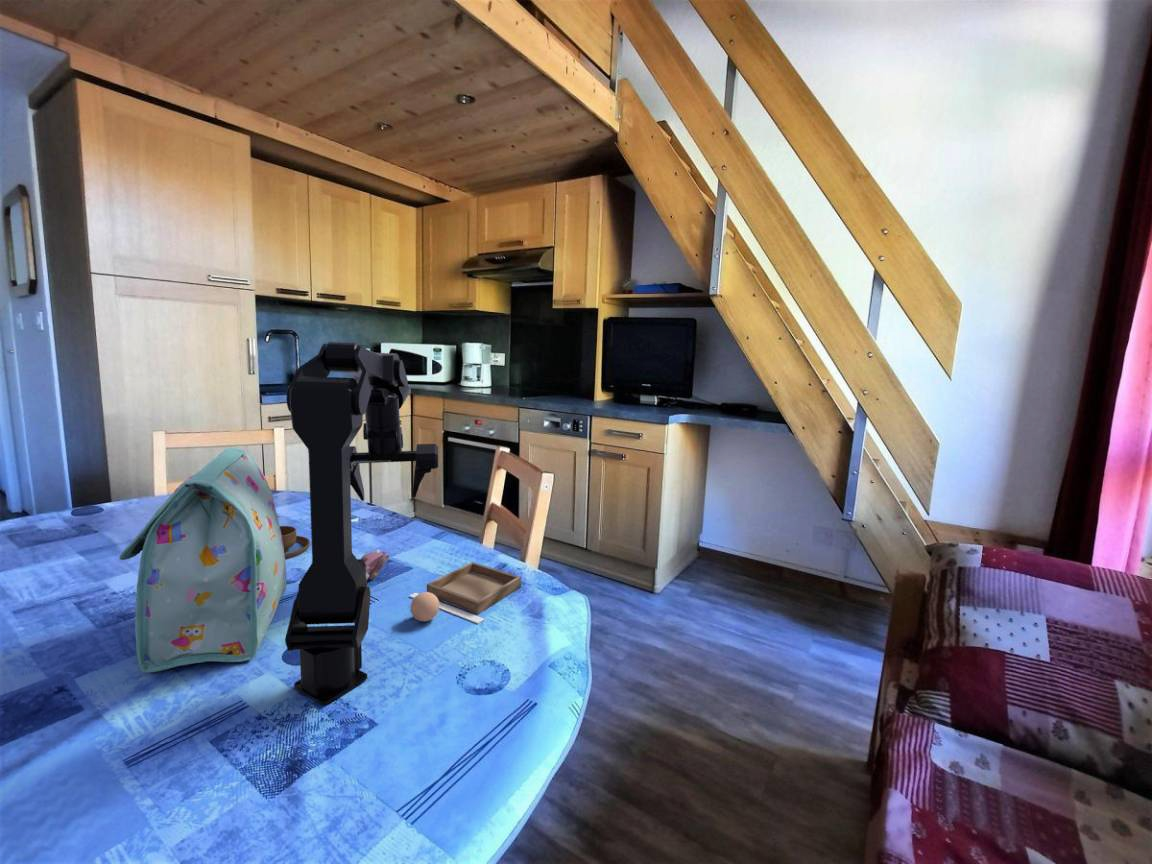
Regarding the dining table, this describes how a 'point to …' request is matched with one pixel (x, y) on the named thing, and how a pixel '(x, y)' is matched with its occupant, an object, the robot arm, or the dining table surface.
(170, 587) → the lunch bag
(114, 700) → the dining table surface
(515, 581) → the tray
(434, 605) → the ball
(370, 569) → the video game controller
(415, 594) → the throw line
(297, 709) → the dining table surface
